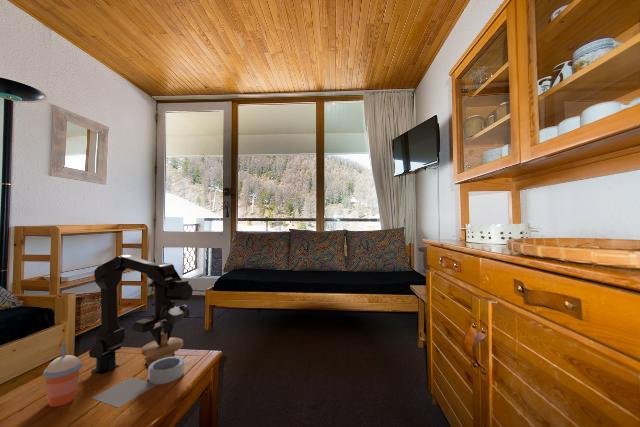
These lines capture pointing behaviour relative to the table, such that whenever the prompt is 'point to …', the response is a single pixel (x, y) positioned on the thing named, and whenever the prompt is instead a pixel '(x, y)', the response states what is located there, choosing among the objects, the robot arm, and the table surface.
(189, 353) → the table surface
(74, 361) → the cup with straw
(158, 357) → the bread roll
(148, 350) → the lid
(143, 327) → the robot arm
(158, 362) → the bowl
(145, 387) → the mat
